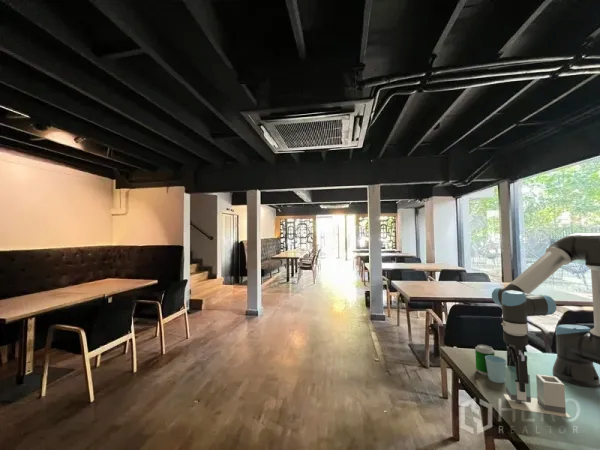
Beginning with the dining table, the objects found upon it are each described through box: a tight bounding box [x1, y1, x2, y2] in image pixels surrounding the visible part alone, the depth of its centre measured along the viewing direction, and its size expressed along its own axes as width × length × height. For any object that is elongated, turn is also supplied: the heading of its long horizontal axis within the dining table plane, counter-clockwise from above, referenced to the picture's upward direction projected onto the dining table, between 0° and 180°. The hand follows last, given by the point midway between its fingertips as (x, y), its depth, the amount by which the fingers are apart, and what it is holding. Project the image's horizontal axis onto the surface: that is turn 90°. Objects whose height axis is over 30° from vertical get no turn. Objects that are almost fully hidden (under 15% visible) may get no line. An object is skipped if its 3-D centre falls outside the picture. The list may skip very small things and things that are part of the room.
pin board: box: [503, 393, 571, 418], centre depth 106 cm, size 17×10×8 cm, turn 70°
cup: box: [485, 355, 507, 384], centre depth 125 cm, size 8×8×10 cm
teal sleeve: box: [504, 365, 532, 403], centre depth 108 cm, size 6×6×10 cm
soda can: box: [474, 344, 496, 377], centre depth 134 cm, size 8×8×12 cm
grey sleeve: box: [535, 373, 567, 414], centre depth 105 cm, size 6×6×10 cm
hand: (518, 394), depth 108 cm, fingers open, 6 cm apart
